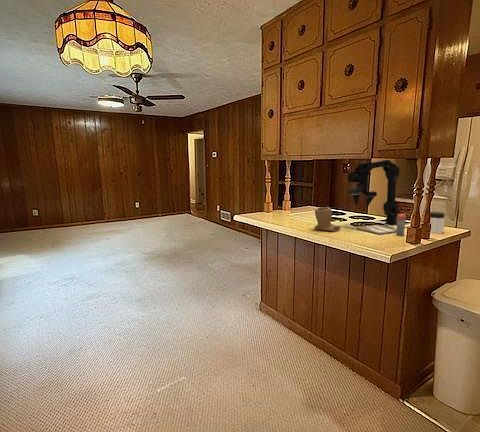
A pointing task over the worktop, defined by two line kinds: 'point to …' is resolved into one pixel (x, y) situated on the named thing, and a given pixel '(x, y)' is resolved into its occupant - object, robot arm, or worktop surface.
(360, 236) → the worktop surface
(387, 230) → the brown framed square board
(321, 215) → the brown boot-shaped piece
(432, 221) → the jar
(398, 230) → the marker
